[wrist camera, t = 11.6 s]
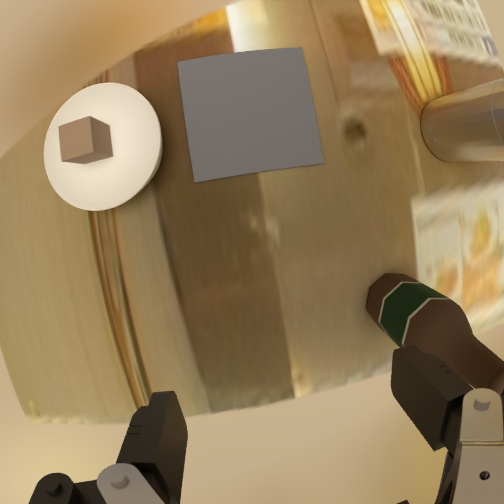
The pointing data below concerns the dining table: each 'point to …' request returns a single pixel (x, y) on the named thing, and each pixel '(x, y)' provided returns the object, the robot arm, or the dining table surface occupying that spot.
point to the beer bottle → (433, 329)
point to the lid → (102, 146)
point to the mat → (249, 113)
